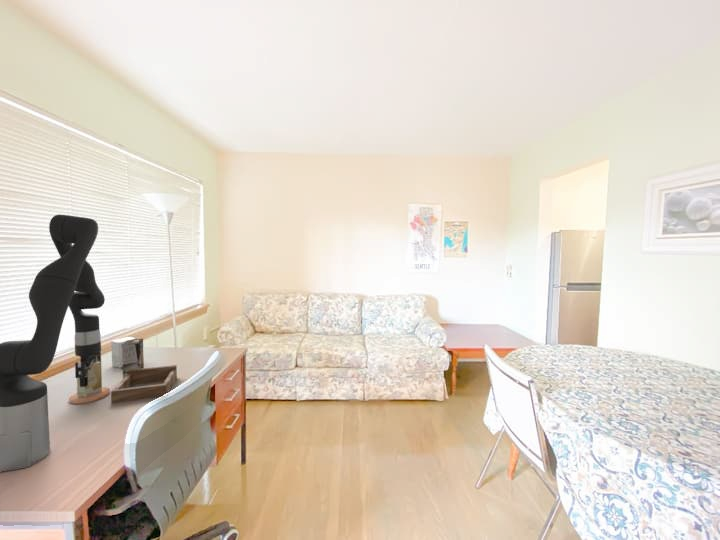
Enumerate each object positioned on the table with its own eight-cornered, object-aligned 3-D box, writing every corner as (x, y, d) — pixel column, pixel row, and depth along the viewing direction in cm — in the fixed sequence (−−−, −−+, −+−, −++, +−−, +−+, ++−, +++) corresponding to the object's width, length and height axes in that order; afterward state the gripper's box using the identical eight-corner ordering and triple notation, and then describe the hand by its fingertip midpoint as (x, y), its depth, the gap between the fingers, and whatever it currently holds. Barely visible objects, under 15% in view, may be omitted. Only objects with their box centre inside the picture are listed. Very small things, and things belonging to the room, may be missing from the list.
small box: (129, 361, 155) (128, 336, 154) (137, 362, 153) (136, 337, 152) (111, 366, 147) (110, 340, 146) (120, 368, 145) (119, 342, 144)
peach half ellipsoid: (101, 401, 114) (101, 398, 114) (61, 406, 110) (61, 403, 109) (115, 387, 125) (115, 385, 125) (79, 391, 121) (78, 389, 121)
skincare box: (85, 398, 114) (84, 367, 113) (76, 397, 115) (75, 366, 114) (103, 390, 120) (102, 361, 119) (94, 389, 121) (93, 360, 120)
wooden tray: (166, 395, 119) (166, 381, 118) (111, 403, 112) (110, 387, 112) (176, 377, 136) (176, 364, 135) (129, 383, 129) (128, 369, 129)
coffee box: (140, 378, 135) (139, 343, 134) (122, 380, 132) (121, 345, 131) (144, 370, 143) (143, 337, 142) (128, 372, 140) (127, 339, 139)
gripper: (90, 346, 111) (92, 388, 112) (107, 335, 124) (109, 373, 125) (65, 348, 108) (67, 391, 109) (85, 337, 121) (86, 376, 122)
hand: (89, 381), depth 117 cm, fingers open, 8 cm apart
